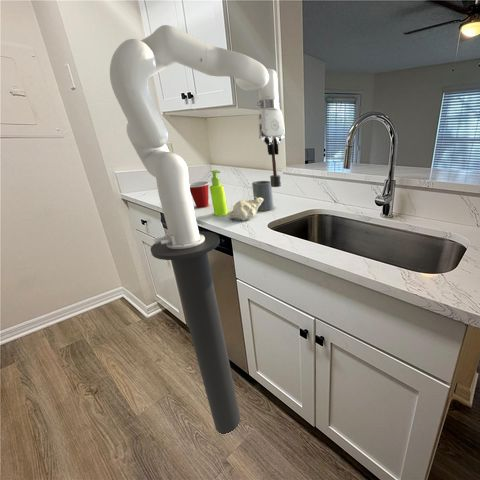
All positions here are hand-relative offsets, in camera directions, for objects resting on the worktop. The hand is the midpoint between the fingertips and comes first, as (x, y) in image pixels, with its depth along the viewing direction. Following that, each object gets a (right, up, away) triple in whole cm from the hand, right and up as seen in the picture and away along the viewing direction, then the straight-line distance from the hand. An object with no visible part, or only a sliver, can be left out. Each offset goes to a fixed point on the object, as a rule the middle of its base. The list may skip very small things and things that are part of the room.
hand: (273, 154), depth 110 cm
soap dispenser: (-27, -24, +12) cm, 38 cm away
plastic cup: (-42, -19, +25) cm, 53 cm away
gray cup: (-8, -21, +19) cm, 30 cm away
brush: (0, -12, +5) cm, 14 cm away
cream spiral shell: (-12, -26, +6) cm, 30 cm away
